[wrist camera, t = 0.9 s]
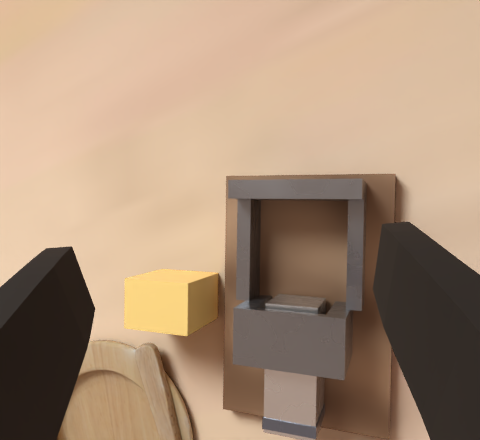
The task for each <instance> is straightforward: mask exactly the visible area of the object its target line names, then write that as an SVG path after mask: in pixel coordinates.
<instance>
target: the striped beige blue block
mask: <svg viewBox="0 0 480 440" xmlns="http://www.w3.org/2000/svg"><path fill="white" fill-rule="evenodd" d="M266 309H273V310H283V311H294V312H304V313H315V314H325V315H326V298H321V297H309V296H297V295H285V294H278V295H277V296H275V297H274V298H272V299H271V300H270V301H268V302H267V303H266ZM324 381H325V378H324V377H317V376H310V375H304V374H297V373H290V372H283V371H276V370H269V369H265V370H264V416H263V422H262V429H264V432H265V433H270V434H275V435H280V436H285V437H290V438H296V439H301V440H316V439H317V436H318V433H319V430H320V427H321V425H322V422H323V419H324V415H325V404H324Z"/></svg>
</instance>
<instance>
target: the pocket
mask: <svg viewBox="0 0 480 440" xmlns="http://www.w3.org/2000/svg"><path fill="white" fill-rule="evenodd" d="M228 199H238V200H237V268H236V300H244V301H250V300H252V299H253V298H255V297H257V296H258V295H260V236H261V200H298V201H348V236H347V284H346V310H354V311H362V309H363V306H364V293H365V247H366V201H367V183H366V182H365V181H364V180H363V179H273V180H228Z"/></svg>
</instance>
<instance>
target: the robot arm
mask: <svg viewBox="0 0 480 440" xmlns="http://www.w3.org/2000/svg"><path fill="white" fill-rule="evenodd" d="M373 292H374V296H375V300H376V303H377V307H378V311H379V314H380V317H381V321H382V324H383V327H384V330H385V332H386V335H387V337H388V340H389V342H390V344H391V347H392V349H393V351H394V354H395V356H396V358H397V361H398V363H399V365H400V368H401V370H402V372H403V375H404V377H405V379H406V381H407V384H408V386H409V388H410V391H411V393H412V395H413V398H414V400H415V402H416V405H417V407H418V409H419V412H420V414H421V416H422V419H423V421H424V424H425V427H426V429H427V432H428V434H429V437H430V440H480V275H479V274H478V273H477V272H475V271H474V270H472V269H471V268H470V267H468V266H467V265H466V264H464V263H463V262H462V261H460V260H459V259H458V258H456V257H455V256H454V255H452V254H451V253H450V252H448V251H447V250H446V249H444V248H443V247H442V246H440V245H439V244H438V243H437V242H435V241H434V240H433V239H431V238H430V237H429V236H427V235H426V234H425V233H423V232H422V231H421V230H419V229H418V228H417V227H415V226H414V225H413V224H411V223H410V222H400V223H386V224H382V227H381V234H380V241H379V248H378V255H377V262H376V269H375V276H374V283H373ZM94 312H95V307H94V304H93V302H92V299H91V296H90V294H89V291H88V288H87V286H86V283H85V280H84V278H83V275H82V272H81V270H80V267H79V264H78V261H77V259H76V256H75V253H74V251H73V248H72V247H59V248H46V249H45V250H44V251H42V252H41V253H40V254H38V255H37V256H36V257H35V258H34V259H32V260H31V261H30V262H29V263H28V264H26V265H25V266H24V267H23V268H22V269H21V270H20V271H18V272H17V273H16V274H15V275H14V276H13V277H12V278H10V279H9V280H8V281H7V282H6V283H5V284H4V285H2V286H1V287H0V440H57V437H58V434H59V431H60V428H61V425H62V422H63V419H64V416H65V413H66V410H67V408H68V405H69V402H70V399H71V396H72V393H73V390H74V387H75V384H76V381H77V378H78V375H79V372H80V369H81V366H82V363H83V360H84V357H85V354H86V351H87V348H88V343H89V339H90V334H91V329H92V323H93V318H94Z"/></svg>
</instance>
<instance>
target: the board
mask: <svg viewBox="0 0 480 440" xmlns="http://www.w3.org/2000/svg"><path fill="white" fill-rule="evenodd" d="M273 179H363V180H364V181H365V182H366V183H367V201H366V247H365V293H364V306H363V309H362V311H354V310H353V343H352V357H351V361H350V364H349V367H348V370H347V374H346V377H345V380H338V379H331V378H325V381H324V404H325V415H324V419H323V422H322V425H321V427H324V428H329V429H335V430H340V431H345V432H351V433H356V434H362V435H367V436H372V437H378V438H383V439H389V432H390V389H391V344H390V342H389V340H388V337H387V335H386V332H385V330H384V327H383V324H382V321H381V317H380V314H379V311H378V307H377V303H376V300H375V296H374V292H373V283H374V276H375V269H376V262H377V255H378V248H379V241H380V234H381V227H382V224H386V223H394V217H395V174H348V175H275V176H226V245H225V316H224V386H223V409H226V410H232V411H237V412H242V413H248V414H253V415H259V416H264V370H265V369H262V368H255V367H248V366H242V365H235V364H233V308H234V307H236V306H238V305H239V304H241V303H243V302H244V300H236V268H237V200H238V199H228V180H273ZM347 236H348V201H298V200H261V236H260V295H270V296H272V298H274V297H275V296H277V295H278V294H285V295H297V296H309V297H321V298H326V314H327V313H328V312H329V310H330V309H331V307H332V306H333V304H334V303H335V301H340V302H346V284H347Z"/></svg>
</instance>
